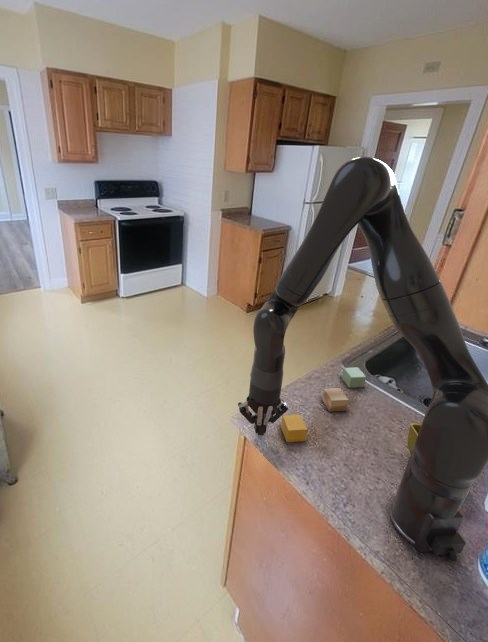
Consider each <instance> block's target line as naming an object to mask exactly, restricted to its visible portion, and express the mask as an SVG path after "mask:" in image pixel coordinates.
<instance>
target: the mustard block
mask: <svg viewBox="0 0 488 642" xmlns="http://www.w3.org/2000/svg"><path fill="white" fill-rule="evenodd" d="M280 430H281V431H282V434H283V436H284V439H285V441H286V443H293V442H294V443H295V442H306V439H307V434H308V428H307V425H306V423H305V421H304V420H303V417H302V415H301V414H289V415H282V416H281V422H280Z"/></svg>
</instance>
